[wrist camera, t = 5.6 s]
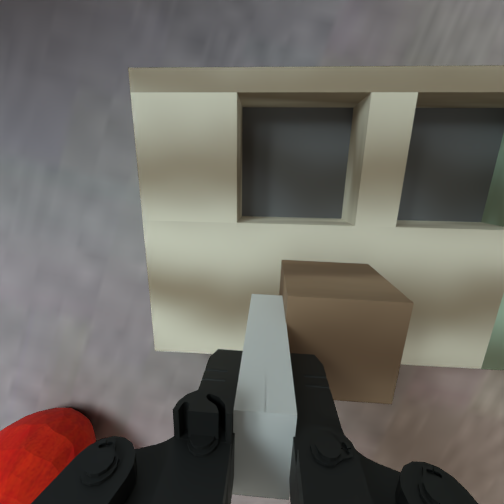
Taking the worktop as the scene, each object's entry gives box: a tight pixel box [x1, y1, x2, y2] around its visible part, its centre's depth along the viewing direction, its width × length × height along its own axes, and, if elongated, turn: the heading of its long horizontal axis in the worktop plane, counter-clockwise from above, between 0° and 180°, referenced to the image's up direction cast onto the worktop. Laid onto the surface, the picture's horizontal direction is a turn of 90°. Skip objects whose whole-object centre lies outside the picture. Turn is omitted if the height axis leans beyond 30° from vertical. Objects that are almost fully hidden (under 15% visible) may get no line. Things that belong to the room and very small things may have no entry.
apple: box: [0, 408, 96, 504], centre depth 19 cm, size 8×8×7 cm
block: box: [279, 260, 414, 404], centre depth 12 cm, size 4×4×4 cm
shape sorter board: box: [128, 65, 504, 370], centre depth 15 cm, size 15×25×3 cm, turn 89°
